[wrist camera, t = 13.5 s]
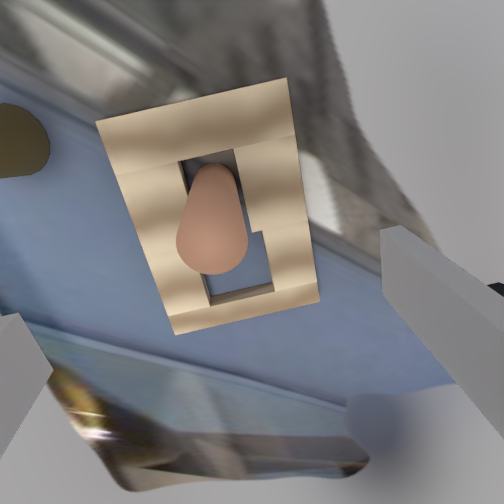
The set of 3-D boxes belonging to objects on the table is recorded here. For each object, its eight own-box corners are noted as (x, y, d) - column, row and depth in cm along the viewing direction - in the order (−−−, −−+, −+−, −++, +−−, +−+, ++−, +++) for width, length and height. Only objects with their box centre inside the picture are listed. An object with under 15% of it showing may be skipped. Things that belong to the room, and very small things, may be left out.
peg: (188, 168, 32) (166, 217, 18) (229, 158, 32) (239, 200, 18) (199, 208, 34) (187, 281, 20) (239, 199, 34) (254, 266, 20)
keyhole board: (102, 120, 30) (95, 121, 28) (282, 79, 30) (286, 77, 28) (177, 324, 39) (175, 335, 37) (315, 292, 39) (320, 301, 37)
